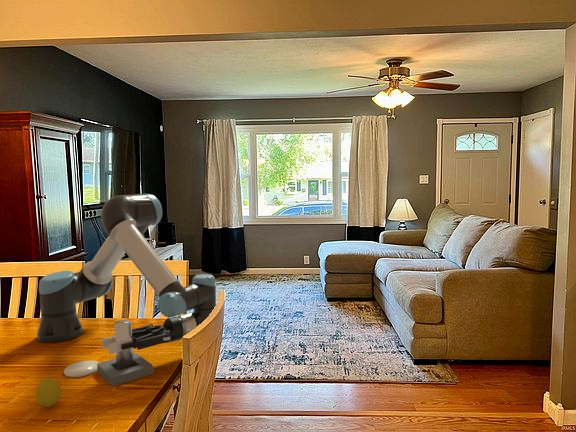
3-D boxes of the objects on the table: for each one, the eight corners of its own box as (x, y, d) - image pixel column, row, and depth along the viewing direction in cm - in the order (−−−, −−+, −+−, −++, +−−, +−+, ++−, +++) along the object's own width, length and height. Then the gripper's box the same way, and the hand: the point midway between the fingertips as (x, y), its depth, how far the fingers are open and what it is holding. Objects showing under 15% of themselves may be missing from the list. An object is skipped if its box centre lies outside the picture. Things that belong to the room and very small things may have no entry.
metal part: (114, 367, 132) (111, 322, 131) (130, 363, 135) (127, 318, 134) (120, 372, 128) (117, 326, 127) (136, 368, 131) (134, 322, 130)
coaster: (60, 369, 135) (60, 367, 135) (94, 360, 141) (94, 358, 141) (69, 380, 127) (69, 377, 127) (104, 370, 134) (104, 367, 134)
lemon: (51, 414, 109) (48, 383, 108) (31, 412, 110) (29, 381, 109) (66, 402, 114) (64, 373, 113) (48, 401, 115) (46, 371, 115)
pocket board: (97, 371, 133) (96, 363, 132) (136, 360, 140) (135, 352, 140) (112, 386, 123) (112, 377, 123) (153, 373, 131) (153, 365, 130)
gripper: (193, 346, 136) (117, 368, 121) (167, 331, 150) (96, 350, 134) (192, 322, 135) (115, 342, 120) (166, 310, 149) (94, 326, 134)
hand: (105, 346), depth 127 cm, fingers closed on metal part, 5 cm apart
